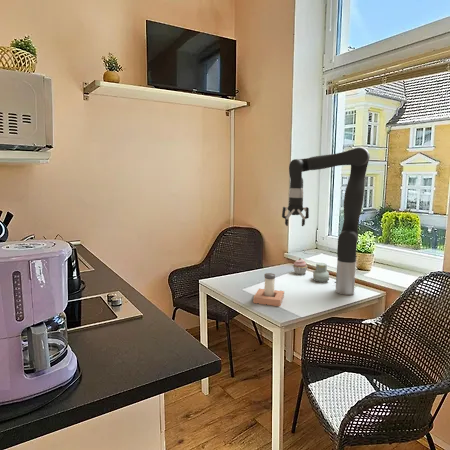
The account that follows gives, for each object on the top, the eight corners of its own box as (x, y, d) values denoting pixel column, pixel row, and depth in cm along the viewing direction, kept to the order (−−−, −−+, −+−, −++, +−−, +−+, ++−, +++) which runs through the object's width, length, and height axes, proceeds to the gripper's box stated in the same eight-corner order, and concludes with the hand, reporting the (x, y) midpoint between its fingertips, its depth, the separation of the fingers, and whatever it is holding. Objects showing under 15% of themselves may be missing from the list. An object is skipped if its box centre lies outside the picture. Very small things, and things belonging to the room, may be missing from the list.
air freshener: (312, 277, 220) (313, 261, 218) (327, 278, 218) (328, 261, 217) (313, 283, 209) (314, 266, 207) (328, 284, 208) (329, 266, 206)
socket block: (284, 296, 187) (284, 291, 186) (280, 306, 175) (280, 300, 174) (258, 294, 191) (259, 288, 190) (253, 303, 178) (253, 297, 178)
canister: (275, 298, 184) (275, 273, 182) (273, 302, 180) (274, 276, 177) (264, 297, 186) (265, 272, 184) (262, 301, 181) (263, 275, 179)
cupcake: (289, 271, 230) (290, 256, 229) (303, 270, 232) (304, 255, 231) (296, 276, 221) (296, 260, 220) (310, 275, 224) (311, 259, 222)
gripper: (283, 196, 196) (282, 226, 199) (310, 197, 195) (309, 227, 198) (282, 195, 203) (281, 224, 206) (308, 196, 203) (306, 225, 206)
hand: (294, 225), depth 202 cm, fingers open, 8 cm apart
